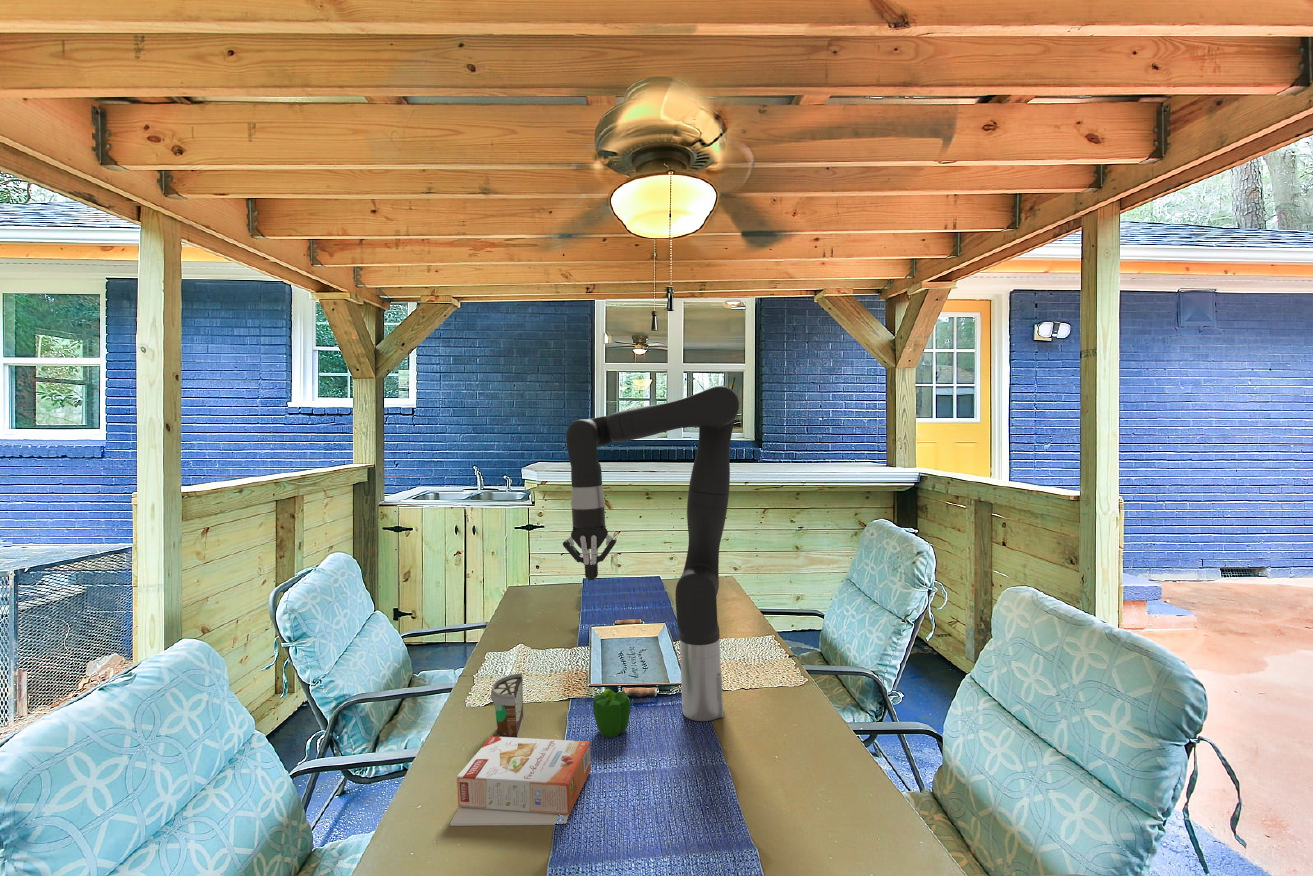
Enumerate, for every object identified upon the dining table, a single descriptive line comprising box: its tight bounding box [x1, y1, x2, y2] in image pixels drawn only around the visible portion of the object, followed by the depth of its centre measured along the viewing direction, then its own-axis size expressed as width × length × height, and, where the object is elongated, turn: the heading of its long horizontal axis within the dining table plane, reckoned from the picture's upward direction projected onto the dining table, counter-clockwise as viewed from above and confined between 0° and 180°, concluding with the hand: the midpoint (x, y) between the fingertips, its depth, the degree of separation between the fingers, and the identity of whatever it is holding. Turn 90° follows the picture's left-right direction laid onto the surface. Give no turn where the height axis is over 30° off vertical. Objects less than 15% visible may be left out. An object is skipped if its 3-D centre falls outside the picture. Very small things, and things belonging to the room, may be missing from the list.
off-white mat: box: [449, 806, 570, 827], centre depth 110 cm, size 20×18×1 cm
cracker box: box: [456, 735, 592, 815], centre depth 110 cm, size 14×6×21 cm
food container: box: [490, 672, 524, 738], centre depth 133 cm, size 12×6×10 cm, turn 5°
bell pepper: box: [592, 688, 632, 738], centre depth 130 cm, size 8×8×10 cm
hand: (591, 579), depth 138 cm, fingers closed
